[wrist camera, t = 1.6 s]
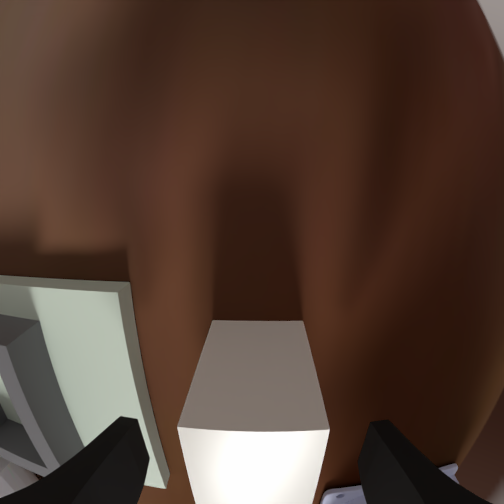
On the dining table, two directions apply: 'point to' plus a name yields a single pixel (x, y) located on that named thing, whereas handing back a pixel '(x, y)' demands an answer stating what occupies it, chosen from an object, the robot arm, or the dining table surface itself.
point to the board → (70, 371)
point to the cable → (14, 477)
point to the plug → (254, 416)
